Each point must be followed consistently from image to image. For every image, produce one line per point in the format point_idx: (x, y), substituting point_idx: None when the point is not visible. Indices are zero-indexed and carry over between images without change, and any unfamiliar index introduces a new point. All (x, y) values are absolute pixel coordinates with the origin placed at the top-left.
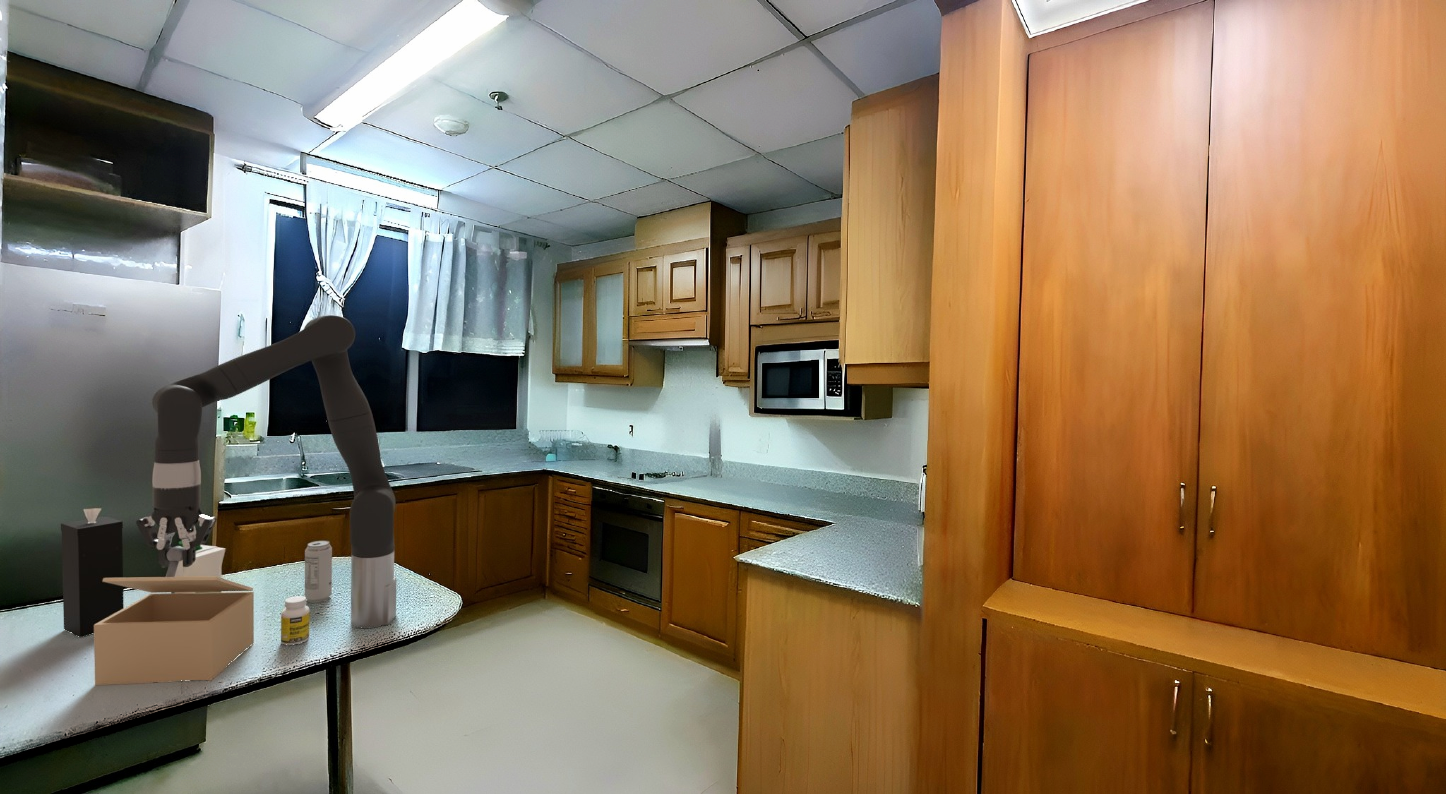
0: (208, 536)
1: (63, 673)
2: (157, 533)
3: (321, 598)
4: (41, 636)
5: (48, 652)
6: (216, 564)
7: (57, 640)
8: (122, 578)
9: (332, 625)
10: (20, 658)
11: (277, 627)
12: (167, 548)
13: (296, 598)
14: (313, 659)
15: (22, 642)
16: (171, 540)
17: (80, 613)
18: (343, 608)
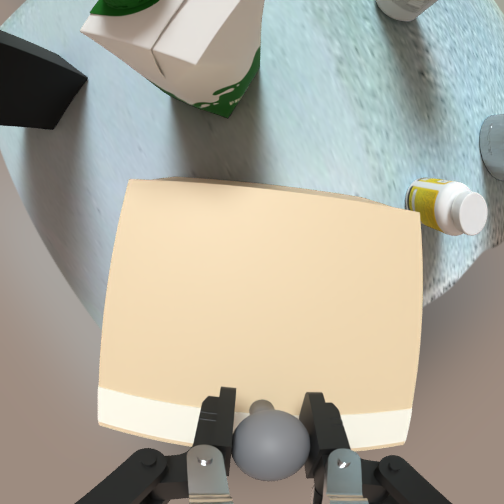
0: (421, 480)
1: (103, 263)
2: (138, 498)
3: (410, 20)
4: None
5: (43, 181)
6: (254, 22)
7: (33, 138)
8: (147, 437)
9: (459, 145)
10: (27, 200)
11: (378, 122)
12: (225, 463)
13: (474, 210)
14: (451, 280)
15: (6, 145)
16: (225, 475)
17: (26, 126)
18: (451, 68)
